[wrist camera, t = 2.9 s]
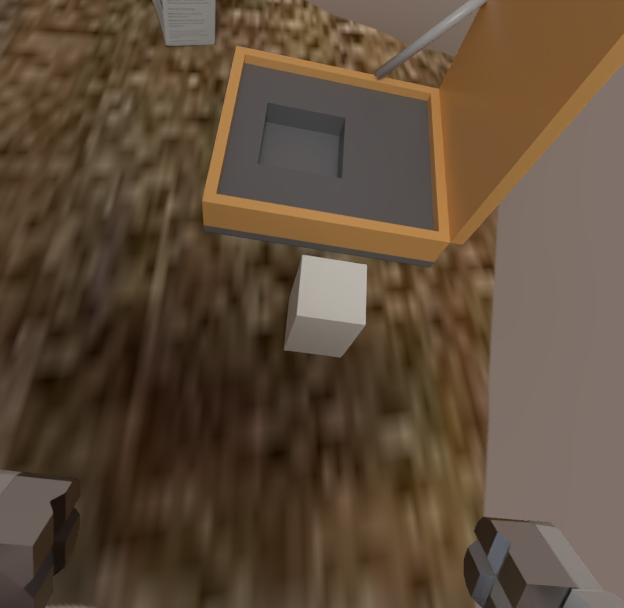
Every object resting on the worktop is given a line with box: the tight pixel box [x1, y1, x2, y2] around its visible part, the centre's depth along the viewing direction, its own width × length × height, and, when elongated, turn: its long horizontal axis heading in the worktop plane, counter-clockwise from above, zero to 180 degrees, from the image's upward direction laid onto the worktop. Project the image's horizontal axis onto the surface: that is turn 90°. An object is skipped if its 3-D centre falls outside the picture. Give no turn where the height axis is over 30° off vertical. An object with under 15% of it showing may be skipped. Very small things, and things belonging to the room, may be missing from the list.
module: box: [284, 255, 367, 357], centre depth 37 cm, size 5×5×8 cm
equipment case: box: [202, 0, 624, 267], centre depth 36 cm, size 23×20×26 cm
